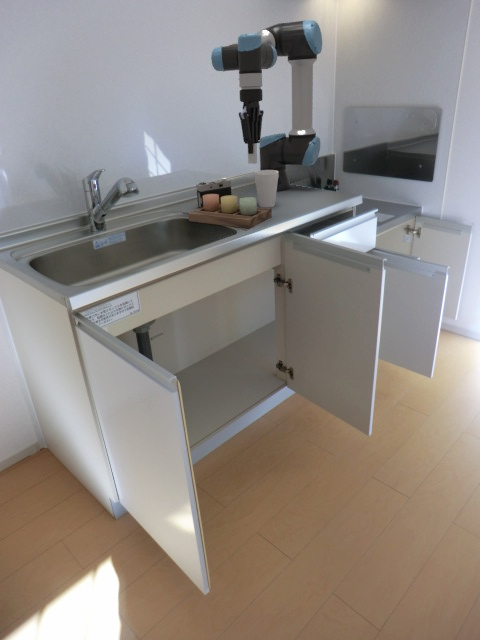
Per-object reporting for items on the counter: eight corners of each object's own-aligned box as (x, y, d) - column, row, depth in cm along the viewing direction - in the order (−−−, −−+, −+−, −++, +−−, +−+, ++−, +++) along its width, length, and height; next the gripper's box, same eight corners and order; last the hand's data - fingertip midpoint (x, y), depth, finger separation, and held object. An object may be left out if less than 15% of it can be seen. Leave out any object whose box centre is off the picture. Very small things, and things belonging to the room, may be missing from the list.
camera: (223, 200, 206) (221, 176, 201) (232, 204, 199) (231, 179, 195) (193, 206, 200) (191, 181, 195) (202, 209, 193) (200, 184, 189)
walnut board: (213, 210, 190) (212, 203, 189) (271, 217, 178) (271, 208, 176) (189, 221, 178) (188, 213, 177) (249, 228, 166) (249, 219, 164)
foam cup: (277, 208, 189) (276, 174, 183) (253, 208, 191) (252, 174, 185) (280, 202, 197) (279, 169, 191) (257, 202, 199) (256, 170, 193)
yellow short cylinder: (227, 208, 180) (226, 194, 178) (240, 209, 177) (240, 196, 175) (218, 212, 176) (217, 198, 174) (232, 213, 173) (231, 199, 171)
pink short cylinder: (209, 206, 184) (208, 193, 182) (222, 207, 181) (221, 194, 179) (200, 210, 180) (199, 196, 177) (213, 211, 177) (212, 198, 175)
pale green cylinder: (245, 210, 176) (244, 196, 174) (259, 211, 174) (259, 197, 171) (237, 214, 172) (236, 200, 170) (251, 215, 169) (250, 201, 167)
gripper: (250, 88, 165) (252, 160, 175) (230, 89, 155) (233, 165, 165) (270, 87, 161) (271, 161, 172) (250, 88, 151) (252, 166, 162)
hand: (252, 163), depth 168 cm, fingers closed
